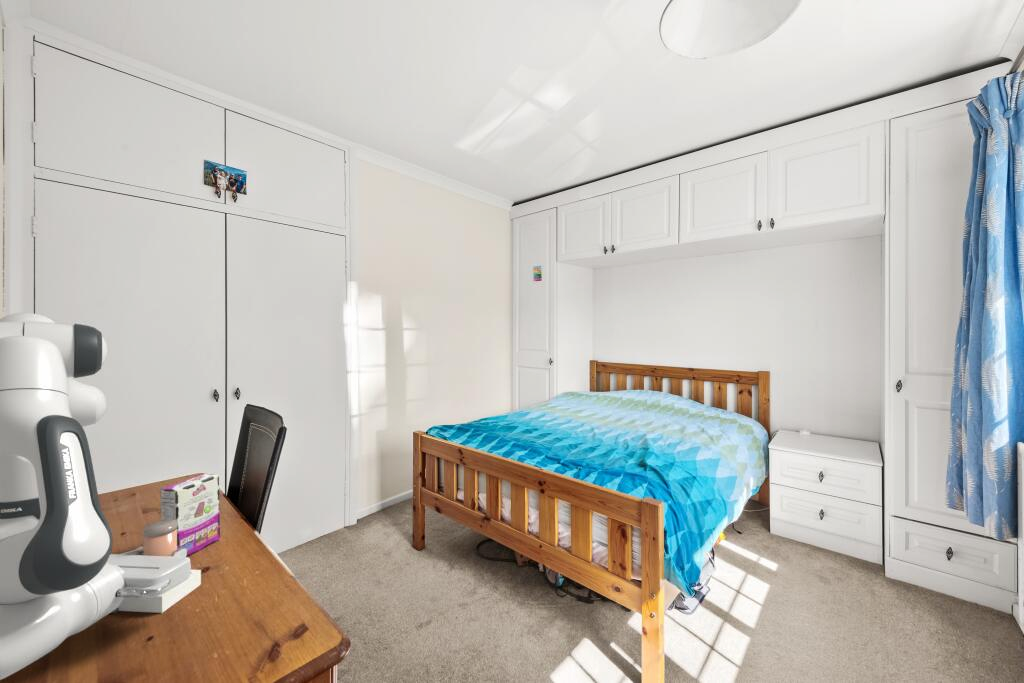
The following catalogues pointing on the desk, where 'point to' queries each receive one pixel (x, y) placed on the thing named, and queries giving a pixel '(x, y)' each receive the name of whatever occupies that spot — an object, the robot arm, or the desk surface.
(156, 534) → the canister
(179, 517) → the candy bar box
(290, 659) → the desk surface
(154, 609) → the frame
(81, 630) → the robot arm
